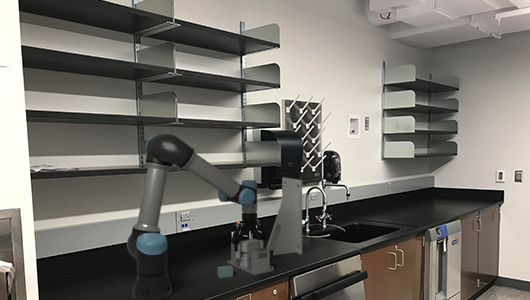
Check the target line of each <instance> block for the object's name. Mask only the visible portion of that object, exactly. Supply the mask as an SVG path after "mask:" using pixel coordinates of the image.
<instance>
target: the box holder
mask: <svg viewBox="0 0 530 300" xmlns="http://www.w3.org/2000/svg"><path fill="white" fill-rule="evenodd" d="M241 241H242V240H241ZM241 241H240V242H241ZM240 242H239V245H240ZM266 248H267V247H263V248H259V247H258V249H254V250H251V266H250V267H244V266H241V265H240V259H238V258H236V251H234V244H232V243H231V242H230V259H229V260H226V261H227V263H226V264H229V265H231V266H232V267H236V268H237V269H241V270H242V271H244V272H247V273H249V274H251V275H254V276H256V275H261V274H265V273H270V272H273V271H275V269H274V268H275V267H274V266H272V265H270V263H271V262H270V261H271V260H270V258H271V257H270V255H271V253H270V252H271V251H270V250H269V249H266Z"/></svg>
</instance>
